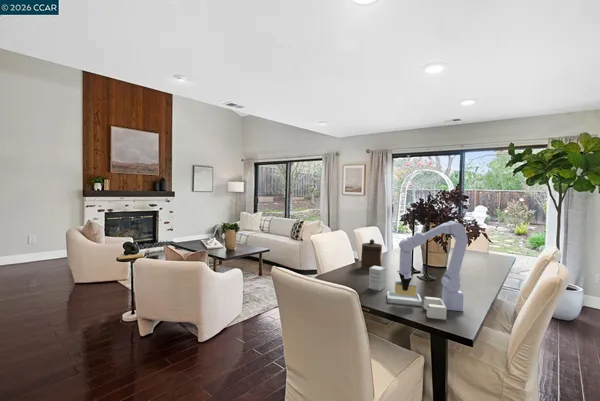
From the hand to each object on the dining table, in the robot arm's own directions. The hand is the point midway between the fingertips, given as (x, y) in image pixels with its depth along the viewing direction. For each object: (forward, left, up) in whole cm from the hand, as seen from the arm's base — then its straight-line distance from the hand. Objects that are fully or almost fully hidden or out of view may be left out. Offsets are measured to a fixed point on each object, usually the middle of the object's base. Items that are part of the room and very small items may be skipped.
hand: (404, 288), depth 157 cm
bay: (-13, +7, -8) cm, 17 cm away
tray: (0, -6, -8) cm, 10 cm away
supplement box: (+14, -22, -9) cm, 28 cm away
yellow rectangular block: (0, 0, -3) cm, 3 cm away
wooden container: (+18, -67, -9) cm, 70 cm away
